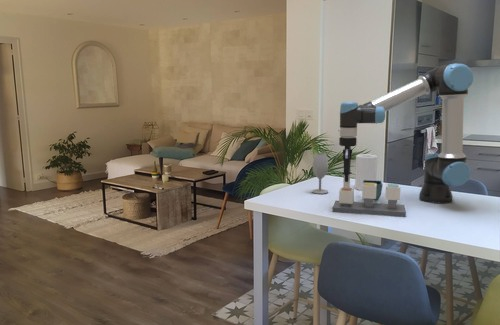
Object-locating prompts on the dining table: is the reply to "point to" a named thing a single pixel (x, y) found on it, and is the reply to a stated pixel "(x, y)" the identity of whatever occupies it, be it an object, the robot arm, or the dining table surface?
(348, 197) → the key terracotta
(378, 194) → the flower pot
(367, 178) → the cup
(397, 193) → the key teal
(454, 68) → the robot arm
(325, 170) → the wineglass
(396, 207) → the keypad
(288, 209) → the dining table surface
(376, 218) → the dining table surface
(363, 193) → the key mustard
